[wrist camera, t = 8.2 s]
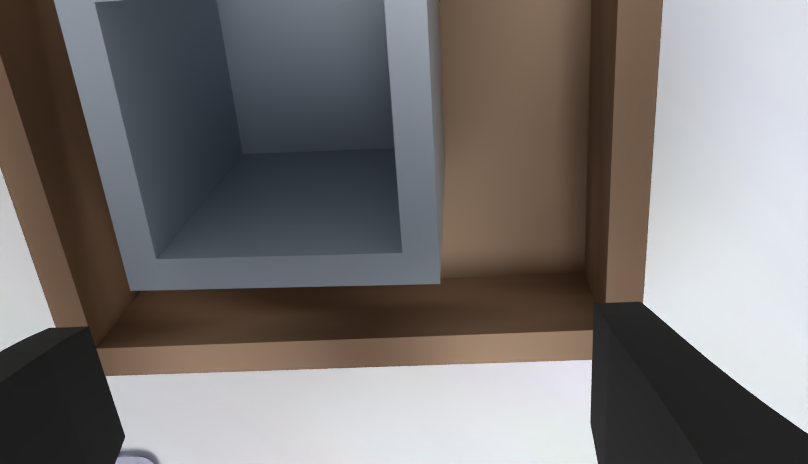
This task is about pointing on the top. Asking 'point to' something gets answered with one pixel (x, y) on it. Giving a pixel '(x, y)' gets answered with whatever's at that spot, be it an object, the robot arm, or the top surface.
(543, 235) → the walnut crate
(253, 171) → the grey crate
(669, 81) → the top surface
